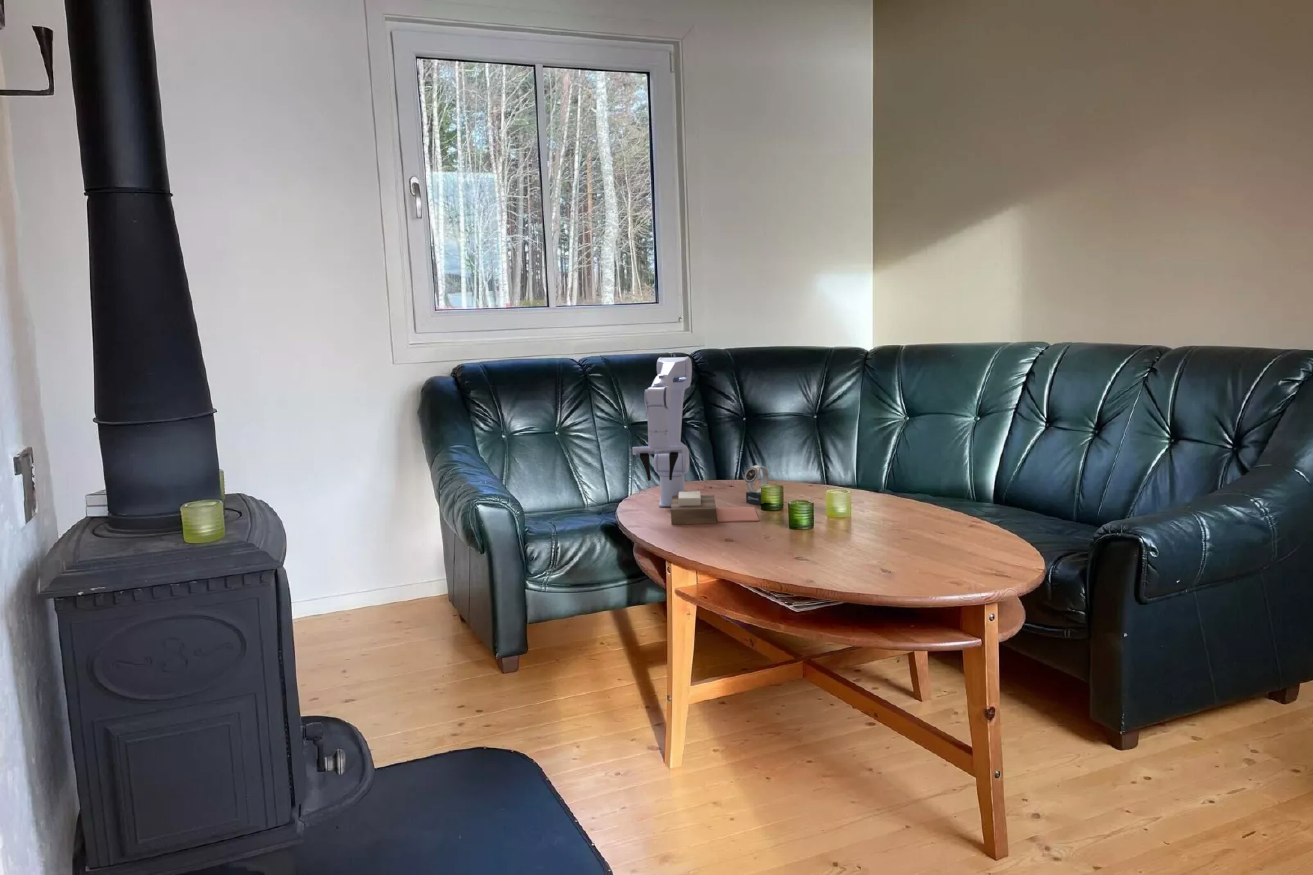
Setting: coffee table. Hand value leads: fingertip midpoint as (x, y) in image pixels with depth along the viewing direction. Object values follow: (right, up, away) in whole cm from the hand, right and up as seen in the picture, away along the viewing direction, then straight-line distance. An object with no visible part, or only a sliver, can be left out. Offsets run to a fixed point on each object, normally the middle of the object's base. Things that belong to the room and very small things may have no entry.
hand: (659, 479), depth 232 cm
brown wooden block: (+9, -10, +1) cm, 14 cm away
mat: (+21, -10, +1) cm, 23 cm away
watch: (+29, -8, +15) cm, 33 cm away
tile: (+8, -6, +1) cm, 10 cm away
